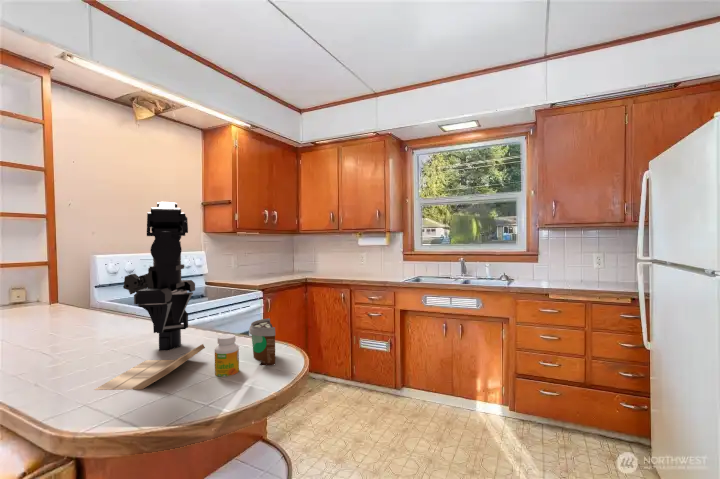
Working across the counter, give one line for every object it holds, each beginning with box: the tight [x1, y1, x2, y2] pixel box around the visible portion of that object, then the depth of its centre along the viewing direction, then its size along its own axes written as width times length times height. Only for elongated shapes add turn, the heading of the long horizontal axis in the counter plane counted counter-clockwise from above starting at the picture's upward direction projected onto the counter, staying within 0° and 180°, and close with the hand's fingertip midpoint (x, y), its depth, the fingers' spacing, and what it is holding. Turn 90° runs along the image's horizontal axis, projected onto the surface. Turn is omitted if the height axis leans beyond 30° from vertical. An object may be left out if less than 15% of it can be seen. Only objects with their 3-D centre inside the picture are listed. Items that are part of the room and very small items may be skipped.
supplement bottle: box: [214, 333, 240, 377], centre depth 84 cm, size 5×5×10 cm
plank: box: [132, 343, 206, 390], centre depth 84 cm, size 18×8×1 cm, turn 0°
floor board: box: [93, 359, 176, 391], centre depth 84 cm, size 18×8×1 cm, turn 0°
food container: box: [248, 318, 276, 366], centre depth 95 cm, size 12×6×10 cm, turn 21°
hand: (168, 327), depth 83 cm, fingers open, 9 cm apart
